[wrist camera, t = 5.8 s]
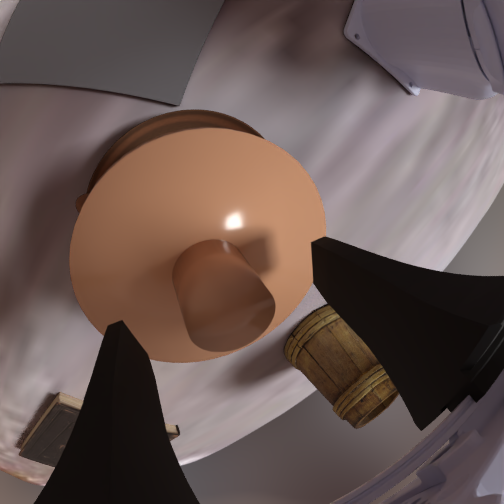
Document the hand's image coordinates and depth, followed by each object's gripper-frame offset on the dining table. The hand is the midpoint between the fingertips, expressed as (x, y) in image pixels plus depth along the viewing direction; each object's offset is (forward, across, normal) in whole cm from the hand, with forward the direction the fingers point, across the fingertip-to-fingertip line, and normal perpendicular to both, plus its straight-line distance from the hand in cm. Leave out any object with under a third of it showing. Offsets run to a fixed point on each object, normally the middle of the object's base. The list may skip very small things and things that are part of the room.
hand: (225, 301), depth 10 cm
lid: (+3, 0, 0) cm, 3 cm away
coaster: (+8, 0, -14) cm, 17 cm away
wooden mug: (+9, -11, +18) cm, 23 cm away
